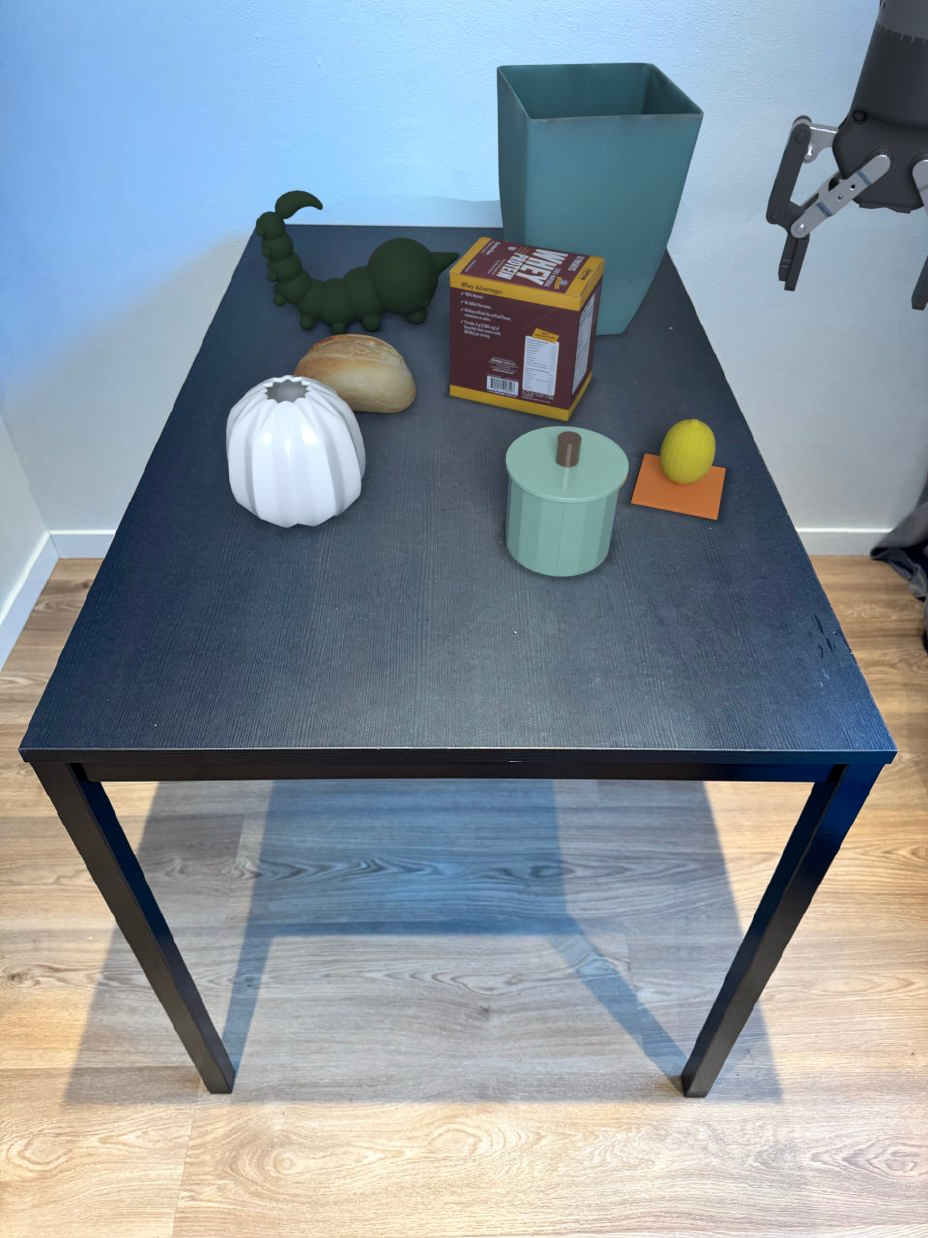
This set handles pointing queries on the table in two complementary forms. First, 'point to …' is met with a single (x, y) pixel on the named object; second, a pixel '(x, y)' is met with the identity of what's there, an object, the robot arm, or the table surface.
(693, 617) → the table surface
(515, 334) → the supplement box
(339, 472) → the vase
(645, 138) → the flower pot
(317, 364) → the bread roll
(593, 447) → the pot lid
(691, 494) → the orange square coaster
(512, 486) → the pot
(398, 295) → the toy figurine
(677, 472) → the lemon
